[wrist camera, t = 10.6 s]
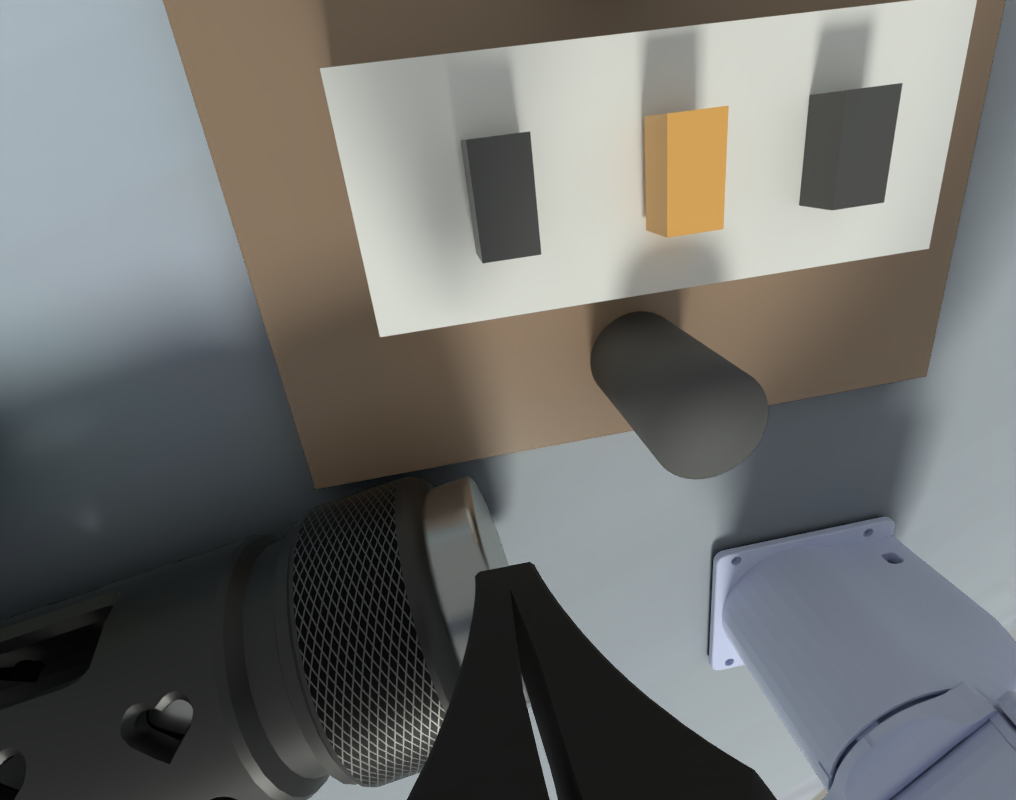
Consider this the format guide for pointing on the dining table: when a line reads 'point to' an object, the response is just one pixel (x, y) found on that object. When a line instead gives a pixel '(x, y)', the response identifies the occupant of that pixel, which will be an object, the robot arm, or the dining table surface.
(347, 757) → the muzzle brake
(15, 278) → the dining table surface
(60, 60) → the dining table surface
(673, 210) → the orange block
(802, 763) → the dining table surface
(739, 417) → the post
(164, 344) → the dining table surface
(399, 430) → the breaker panel
